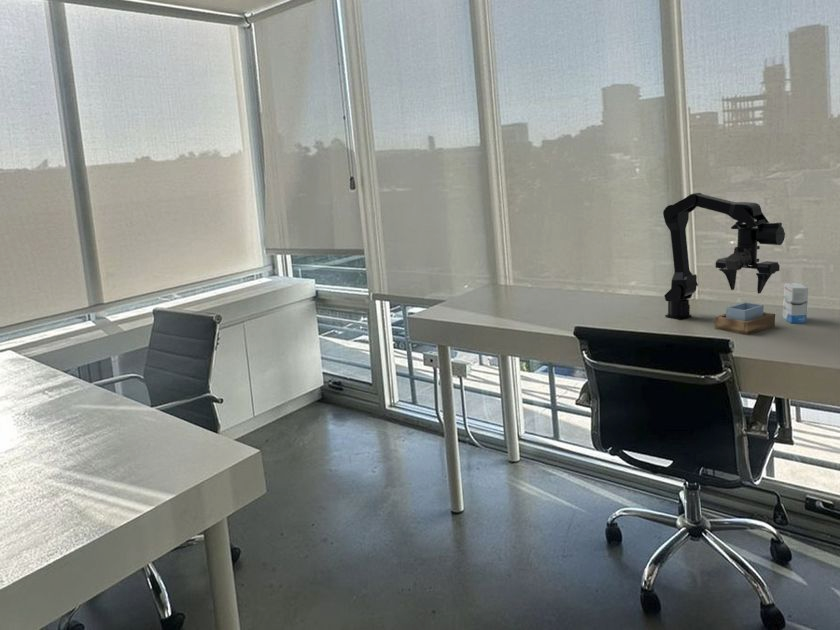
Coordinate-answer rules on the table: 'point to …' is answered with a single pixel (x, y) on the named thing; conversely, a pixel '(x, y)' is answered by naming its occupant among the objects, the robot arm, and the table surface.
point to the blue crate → (744, 311)
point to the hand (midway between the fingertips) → (745, 291)
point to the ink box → (795, 302)
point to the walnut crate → (745, 324)
